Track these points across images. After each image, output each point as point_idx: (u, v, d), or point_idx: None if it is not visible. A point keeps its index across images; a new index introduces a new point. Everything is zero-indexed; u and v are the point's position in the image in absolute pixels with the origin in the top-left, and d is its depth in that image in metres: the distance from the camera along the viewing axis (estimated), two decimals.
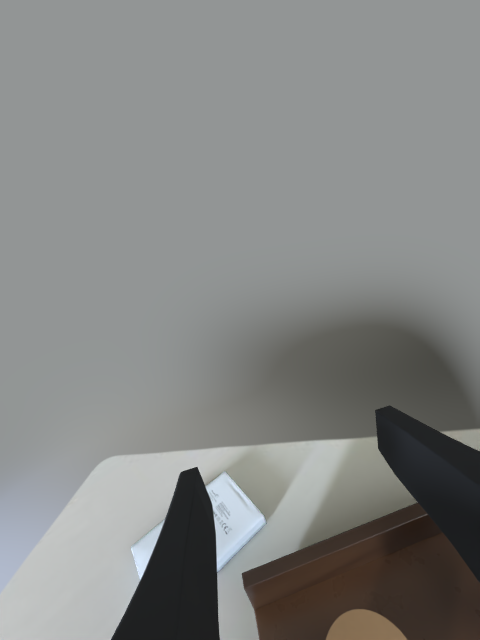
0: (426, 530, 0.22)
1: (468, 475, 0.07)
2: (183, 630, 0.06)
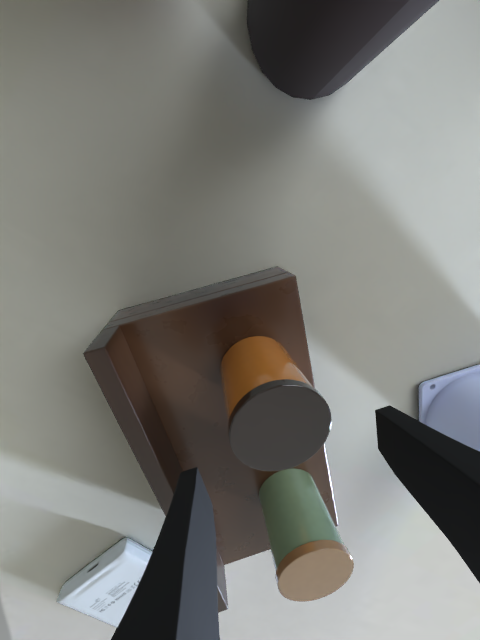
0: (165, 445, 0.17)
1: (468, 475, 0.07)
2: (183, 630, 0.06)
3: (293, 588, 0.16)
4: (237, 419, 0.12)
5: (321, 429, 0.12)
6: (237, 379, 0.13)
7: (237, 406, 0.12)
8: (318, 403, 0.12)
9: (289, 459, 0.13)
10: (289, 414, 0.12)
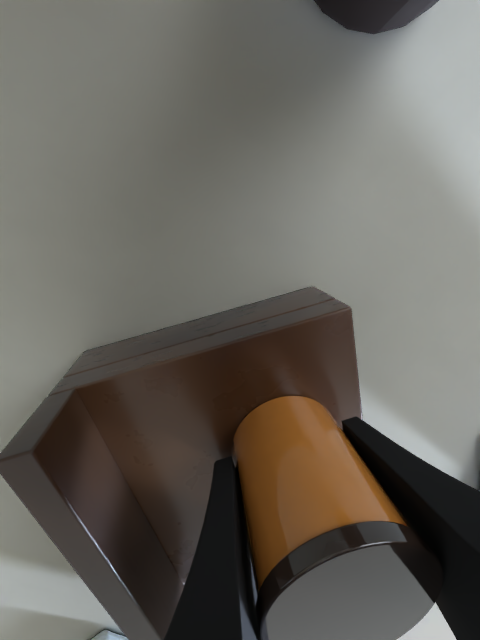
0: (151, 557, 0.11)
1: (418, 492, 0.07)
2: (243, 609, 0.06)
3: None
4: (276, 605, 0.06)
5: (424, 600, 0.07)
6: (267, 493, 0.08)
7: (276, 577, 0.06)
8: (426, 564, 0.06)
9: None
10: (372, 586, 0.06)
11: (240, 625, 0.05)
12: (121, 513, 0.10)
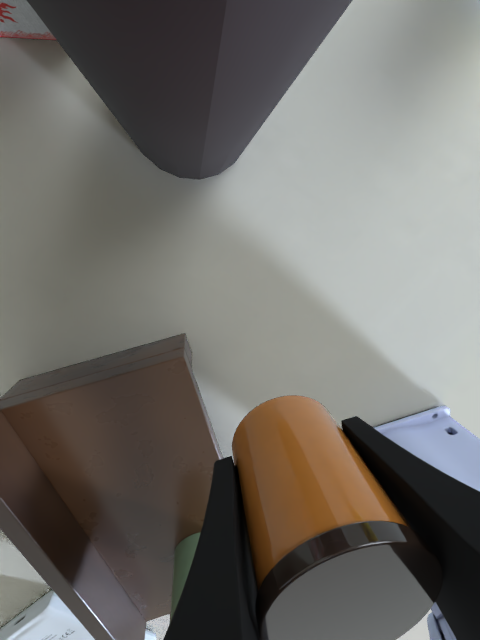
0: (59, 521, 0.17)
1: (418, 492, 0.07)
2: (243, 609, 0.06)
3: None
4: (276, 604, 0.06)
5: (424, 599, 0.07)
6: (266, 493, 0.08)
7: (275, 577, 0.06)
8: (426, 564, 0.06)
9: None
10: (372, 586, 0.06)
11: (240, 625, 0.05)
12: (33, 490, 0.16)
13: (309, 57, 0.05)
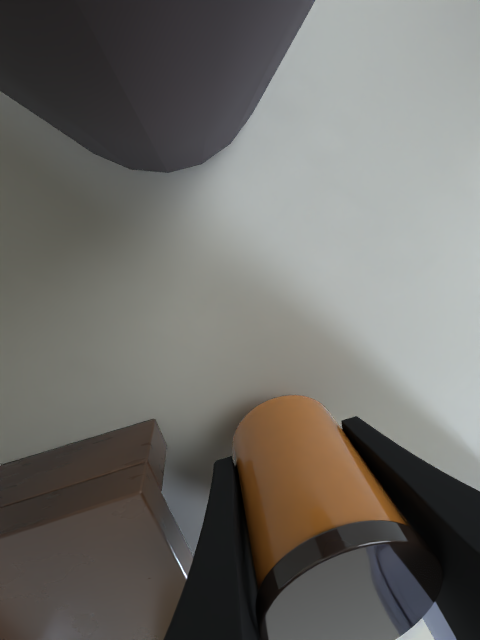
0: None
1: (418, 492, 0.07)
2: (243, 609, 0.06)
3: None
4: (275, 604, 0.06)
5: (424, 598, 0.07)
6: (267, 493, 0.08)
7: (275, 576, 0.06)
8: (426, 563, 0.06)
9: None
10: (372, 585, 0.06)
11: (240, 625, 0.05)
12: None
13: None
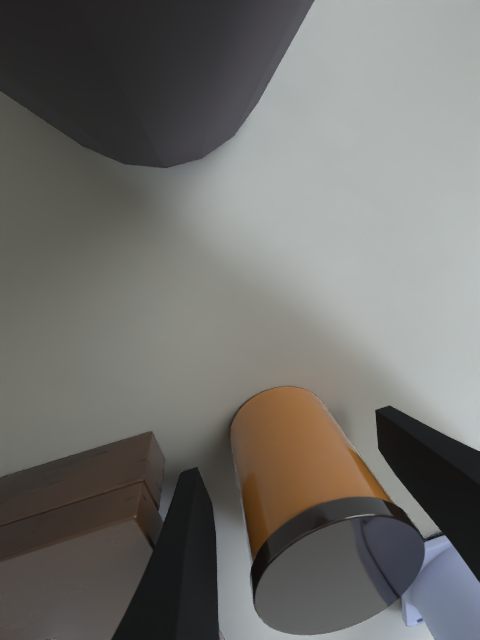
0: None
1: (468, 475, 0.07)
2: (183, 630, 0.06)
3: None
4: (268, 573, 0.06)
5: (408, 572, 0.07)
6: (261, 475, 0.08)
7: (268, 548, 0.07)
8: (408, 537, 0.07)
9: (350, 616, 0.08)
10: (358, 557, 0.07)
11: None
12: None
13: None
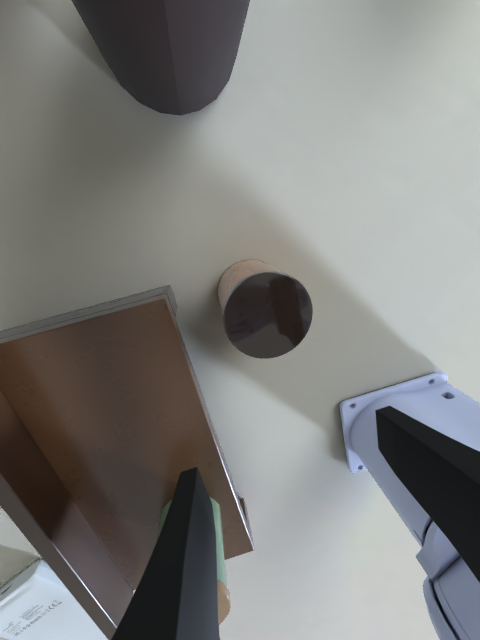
0: (38, 473, 0.16)
1: (468, 475, 0.07)
2: (183, 630, 0.06)
3: None
4: (230, 302, 0.14)
5: (304, 318, 0.14)
6: (231, 281, 0.15)
7: (230, 292, 0.14)
8: (300, 292, 0.14)
9: (276, 347, 0.15)
10: (275, 301, 0.14)
11: None
12: (9, 436, 0.15)
13: None
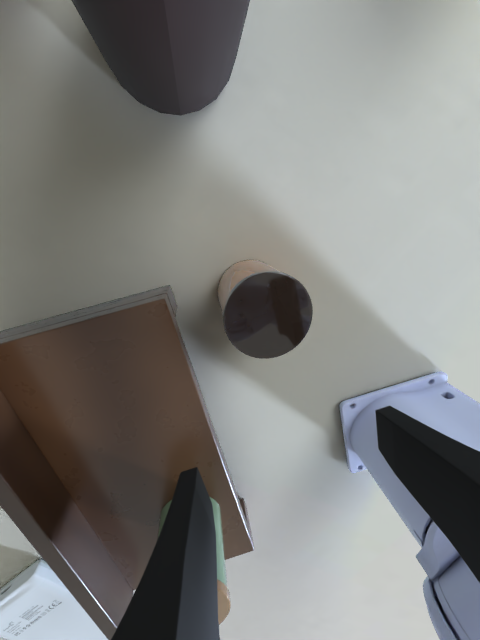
0: (38, 473, 0.16)
1: (468, 475, 0.07)
2: (183, 630, 0.06)
3: None
4: (230, 302, 0.14)
5: (304, 318, 0.14)
6: (231, 281, 0.15)
7: (230, 292, 0.14)
8: (300, 292, 0.14)
9: (276, 347, 0.15)
10: (275, 301, 0.14)
11: None
12: (9, 436, 0.15)
13: None
